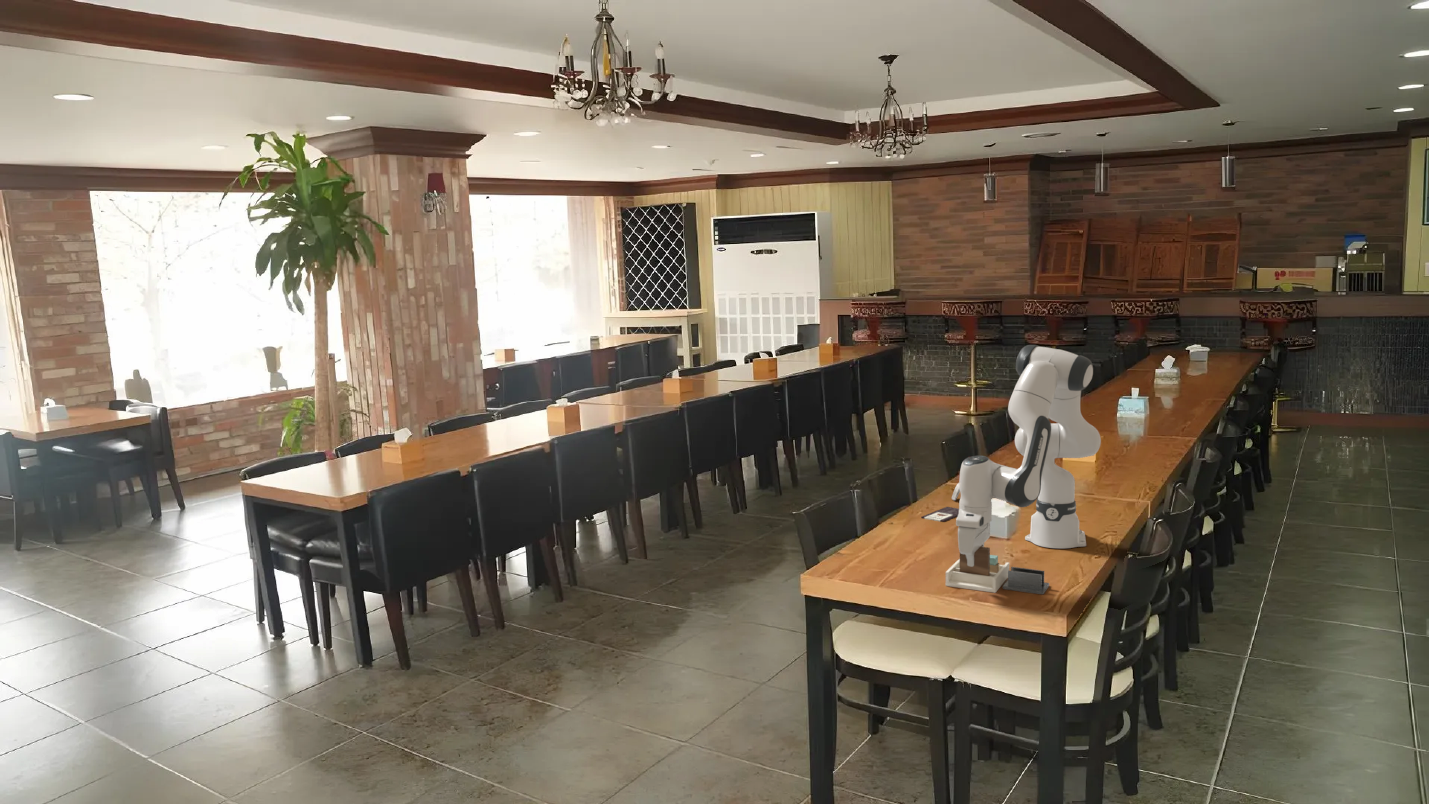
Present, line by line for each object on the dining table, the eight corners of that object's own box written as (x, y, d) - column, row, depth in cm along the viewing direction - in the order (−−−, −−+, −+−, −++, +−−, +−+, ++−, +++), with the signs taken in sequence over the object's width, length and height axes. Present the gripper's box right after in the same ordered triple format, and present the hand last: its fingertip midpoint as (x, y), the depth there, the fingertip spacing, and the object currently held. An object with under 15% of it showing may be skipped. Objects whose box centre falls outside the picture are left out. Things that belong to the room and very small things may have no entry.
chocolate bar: (968, 510, 353) (943, 520, 340) (968, 512, 353) (943, 523, 340) (947, 506, 359) (921, 516, 346) (947, 509, 359) (921, 519, 346)
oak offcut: (968, 568, 285) (968, 559, 284) (999, 572, 280) (999, 562, 280) (965, 571, 282) (965, 561, 282) (996, 575, 278) (996, 565, 277)
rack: (961, 569, 288) (961, 556, 287) (1009, 575, 281) (1009, 562, 280) (945, 585, 274) (945, 572, 273) (995, 592, 267) (995, 578, 266)
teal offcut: (973, 559, 284) (973, 552, 284) (997, 562, 280) (997, 555, 280) (970, 562, 281) (971, 555, 281) (995, 565, 278) (995, 558, 278)
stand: (1009, 580, 277) (1009, 564, 276) (1049, 585, 271) (1049, 569, 270) (1002, 588, 270) (1002, 572, 269) (1043, 594, 264) (1043, 577, 264)
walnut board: (961, 578, 277) (961, 544, 276) (989, 581, 273) (989, 547, 272) (959, 580, 275) (959, 546, 274) (987, 584, 271) (988, 549, 270)
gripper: (974, 504, 282) (973, 550, 284) (954, 521, 264) (953, 570, 266) (995, 506, 279) (995, 553, 280) (977, 524, 261) (976, 573, 263)
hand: (975, 561), depth 273 cm, fingers open, 7 cm apart
